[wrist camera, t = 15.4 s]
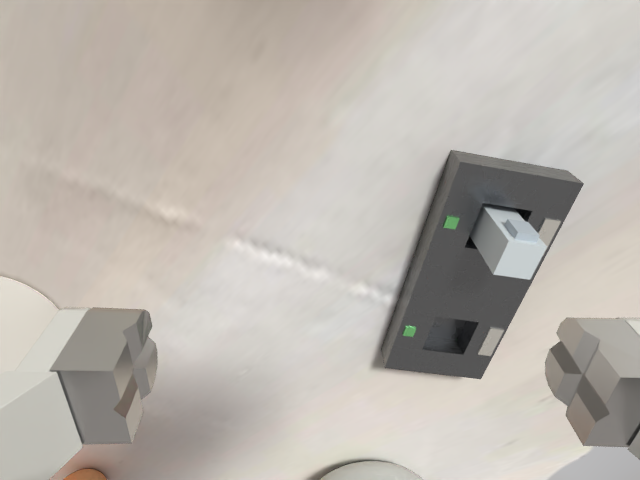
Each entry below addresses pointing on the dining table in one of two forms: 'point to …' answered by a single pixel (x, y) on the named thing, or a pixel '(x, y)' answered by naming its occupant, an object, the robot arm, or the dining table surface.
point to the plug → (507, 242)
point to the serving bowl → (371, 472)
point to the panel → (470, 266)
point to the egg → (86, 475)
